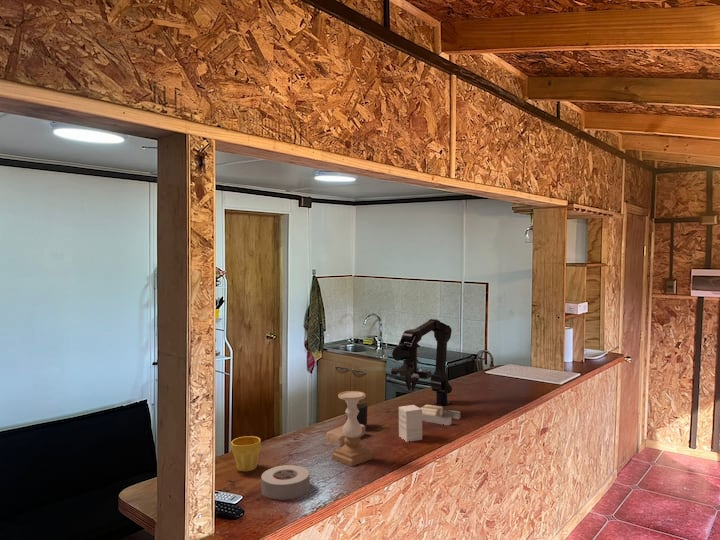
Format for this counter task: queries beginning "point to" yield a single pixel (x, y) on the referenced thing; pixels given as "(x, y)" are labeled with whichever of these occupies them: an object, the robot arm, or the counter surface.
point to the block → (432, 410)
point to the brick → (339, 436)
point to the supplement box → (410, 423)
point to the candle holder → (352, 433)
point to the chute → (442, 417)
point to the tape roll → (285, 482)
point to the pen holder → (361, 414)
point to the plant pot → (246, 452)
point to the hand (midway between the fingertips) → (411, 391)
